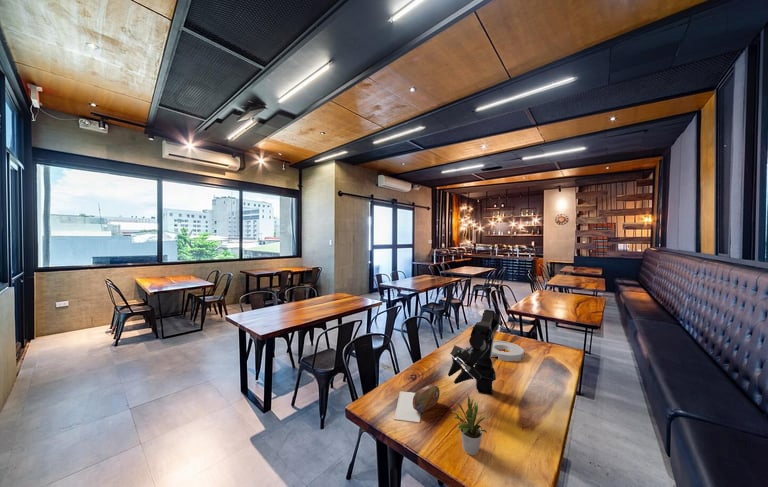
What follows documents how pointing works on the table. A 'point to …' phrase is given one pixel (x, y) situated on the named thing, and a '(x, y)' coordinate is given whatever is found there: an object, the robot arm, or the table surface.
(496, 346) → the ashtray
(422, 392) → the tin
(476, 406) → the house plant
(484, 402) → the table surface
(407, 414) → the mat
